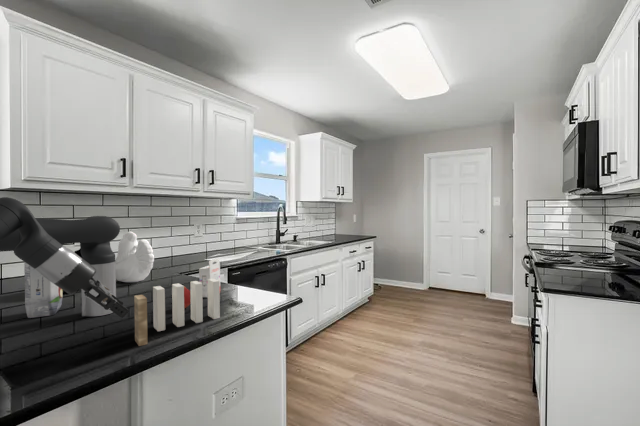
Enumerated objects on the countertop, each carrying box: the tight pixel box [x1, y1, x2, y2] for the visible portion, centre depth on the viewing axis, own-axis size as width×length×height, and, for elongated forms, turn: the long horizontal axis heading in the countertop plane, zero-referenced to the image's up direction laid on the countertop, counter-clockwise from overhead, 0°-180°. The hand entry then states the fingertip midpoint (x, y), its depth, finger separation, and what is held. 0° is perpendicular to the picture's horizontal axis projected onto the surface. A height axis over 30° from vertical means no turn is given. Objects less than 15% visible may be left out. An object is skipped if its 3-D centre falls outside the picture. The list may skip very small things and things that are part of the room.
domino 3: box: [189, 280, 204, 324], centre depth 105 cm, size 2×5×12 cm, turn 39°
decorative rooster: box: [115, 231, 155, 283], centre depth 164 cm, size 25×16×25 cm, turn 49°
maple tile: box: [133, 294, 148, 347], centre depth 88 cm, size 2×5×12 cm, turn 39°
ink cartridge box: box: [198, 258, 221, 298], centre depth 138 cm, size 9×5×15 cm, turn 168°
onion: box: [183, 285, 191, 310], centre depth 119 cm, size 6×6×8 cm
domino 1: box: [152, 285, 166, 332], centre depth 99 cm, size 2×5×12 cm, turn 39°
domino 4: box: [207, 279, 221, 320], centre depth 109 cm, size 2×5×12 cm, turn 39°
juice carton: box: [23, 261, 64, 319], centre depth 114 cm, size 9×10×27 cm
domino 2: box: [171, 282, 185, 328], centre depth 102 cm, size 2×5×12 cm, turn 39°
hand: (123, 310), depth 85 cm, fingers open, 8 cm apart
